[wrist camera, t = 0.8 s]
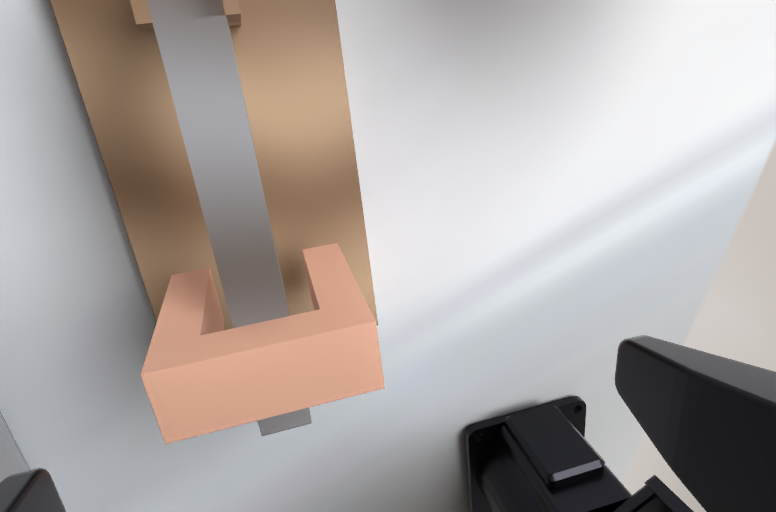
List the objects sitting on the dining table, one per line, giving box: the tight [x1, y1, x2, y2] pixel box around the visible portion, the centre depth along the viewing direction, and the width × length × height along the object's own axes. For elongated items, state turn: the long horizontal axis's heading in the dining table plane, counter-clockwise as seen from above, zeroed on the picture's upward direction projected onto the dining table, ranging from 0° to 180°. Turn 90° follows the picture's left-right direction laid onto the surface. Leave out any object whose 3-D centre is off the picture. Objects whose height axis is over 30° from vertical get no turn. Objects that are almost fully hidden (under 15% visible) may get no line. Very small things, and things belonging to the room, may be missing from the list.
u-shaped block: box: [141, 243, 385, 444], centre depth 15 cm, size 2×5×6 cm, turn 97°
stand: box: [50, 0, 378, 436], centre depth 15 cm, size 14×8×7 cm, turn 6°
